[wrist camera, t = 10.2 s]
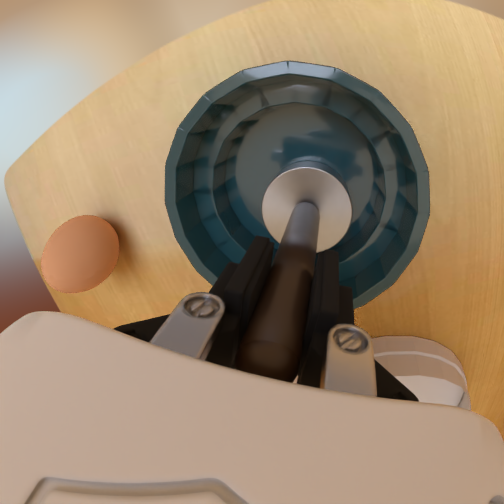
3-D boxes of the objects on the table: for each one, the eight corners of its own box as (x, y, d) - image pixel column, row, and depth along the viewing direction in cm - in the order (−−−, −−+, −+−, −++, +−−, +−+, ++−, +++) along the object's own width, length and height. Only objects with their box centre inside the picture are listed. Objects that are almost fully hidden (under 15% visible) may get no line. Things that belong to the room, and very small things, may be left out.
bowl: (209, 68, 19) (171, 57, 14) (422, 102, 16) (454, 100, 11) (198, 253, 26) (167, 289, 21) (374, 290, 24) (382, 337, 19)
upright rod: (273, 154, 20) (141, 263, 6) (357, 170, 19) (421, 324, 5) (263, 231, 23) (165, 410, 9) (340, 247, 22) (335, 452, 8)
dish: (416, 444, 33) (417, 471, 28) (276, 433, 37) (269, 462, 33) (494, 341, 23) (509, 374, 18) (302, 320, 27) (294, 359, 23)
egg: (89, 194, 27) (21, 229, 19) (139, 219, 26) (73, 265, 18) (85, 247, 30) (28, 288, 22) (130, 273, 30) (76, 325, 22)
